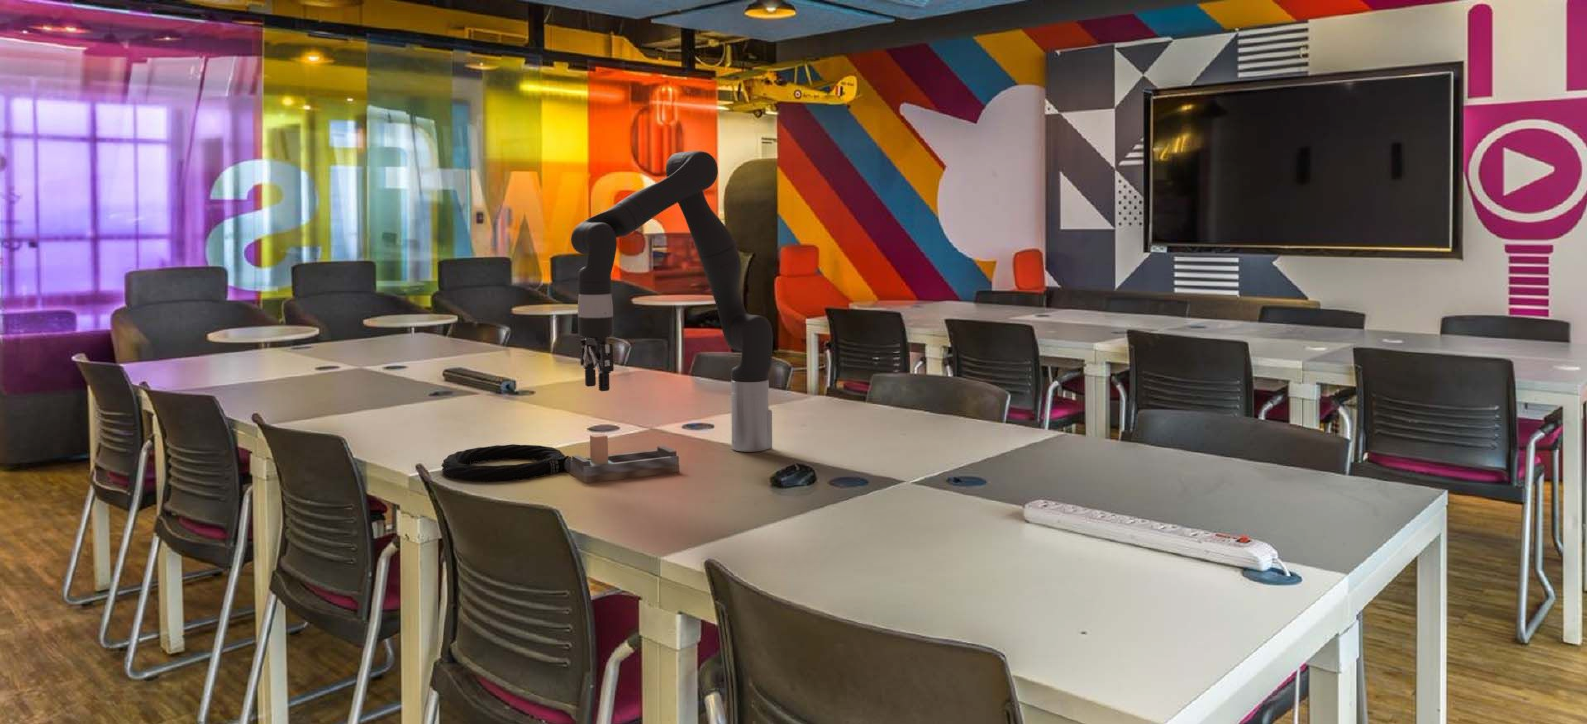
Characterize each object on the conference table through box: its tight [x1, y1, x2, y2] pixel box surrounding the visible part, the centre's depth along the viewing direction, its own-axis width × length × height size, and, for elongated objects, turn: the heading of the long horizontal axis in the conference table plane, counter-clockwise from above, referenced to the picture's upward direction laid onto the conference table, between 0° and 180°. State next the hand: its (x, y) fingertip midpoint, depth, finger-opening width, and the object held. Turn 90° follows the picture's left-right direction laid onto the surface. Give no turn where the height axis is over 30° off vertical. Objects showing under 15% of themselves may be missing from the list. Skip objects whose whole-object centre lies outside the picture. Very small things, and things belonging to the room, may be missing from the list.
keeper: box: [589, 433, 613, 466], centre depth 253 cm, size 5×6×8 cm
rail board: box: [569, 445, 680, 484], centre depth 257 cm, size 22×10×4 cm, turn 120°
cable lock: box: [440, 443, 572, 482], centre depth 262 cm, size 28×4×30 cm
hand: (597, 388), depth 252 cm, fingers open, 8 cm apart
